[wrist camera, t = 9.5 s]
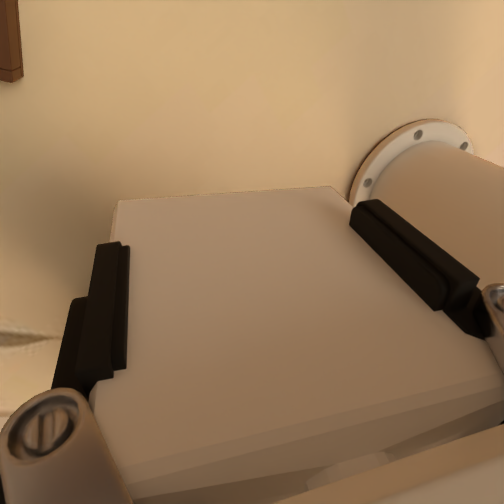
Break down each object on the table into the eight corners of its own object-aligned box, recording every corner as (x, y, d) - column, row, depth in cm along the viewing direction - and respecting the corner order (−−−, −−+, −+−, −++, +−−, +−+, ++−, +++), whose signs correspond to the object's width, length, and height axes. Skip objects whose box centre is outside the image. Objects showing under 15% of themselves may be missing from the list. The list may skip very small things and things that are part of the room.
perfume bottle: (120, 248, 12) (50, 1110, 3) (110, 198, 11) (-84, 1404, 1) (325, 228, 14) (708, 679, 5) (334, 183, 13) (870, 661, 3)
